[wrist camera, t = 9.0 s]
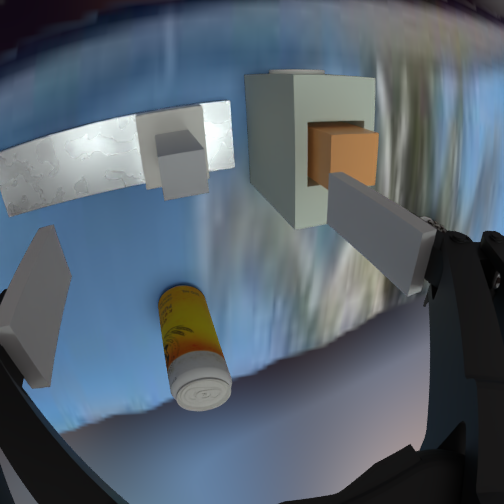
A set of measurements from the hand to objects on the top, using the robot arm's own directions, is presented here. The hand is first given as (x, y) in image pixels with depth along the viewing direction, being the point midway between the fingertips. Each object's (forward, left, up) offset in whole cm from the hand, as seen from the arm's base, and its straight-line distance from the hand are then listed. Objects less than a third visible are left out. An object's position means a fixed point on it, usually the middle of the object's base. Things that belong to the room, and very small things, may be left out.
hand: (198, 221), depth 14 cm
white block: (+12, 0, -20) cm, 23 cm away
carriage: (0, 0, -18) cm, 18 cm away
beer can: (-2, -20, -20) cm, 28 cm away
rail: (-6, 0, -20) cm, 21 cm away
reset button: (+12, 0, -10) cm, 16 cm away
